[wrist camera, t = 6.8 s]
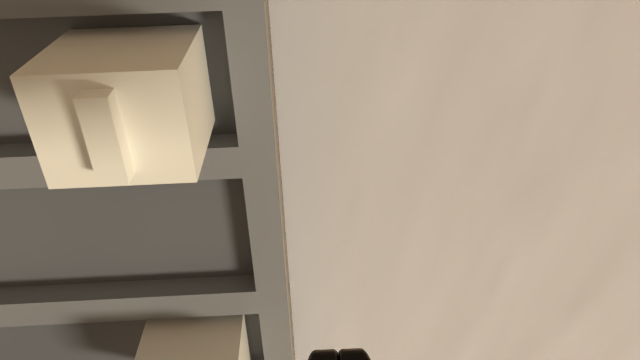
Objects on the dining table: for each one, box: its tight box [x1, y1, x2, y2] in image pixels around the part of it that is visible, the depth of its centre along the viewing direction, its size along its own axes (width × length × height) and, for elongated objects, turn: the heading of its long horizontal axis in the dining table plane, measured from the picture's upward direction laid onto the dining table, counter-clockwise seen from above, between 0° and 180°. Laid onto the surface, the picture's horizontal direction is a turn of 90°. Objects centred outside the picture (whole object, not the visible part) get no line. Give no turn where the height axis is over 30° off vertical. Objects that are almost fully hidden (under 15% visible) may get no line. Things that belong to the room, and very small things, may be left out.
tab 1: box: [9, 24, 215, 189], centre depth 15 cm, size 3×4×5 cm
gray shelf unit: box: [0, 0, 295, 360], centre depth 20 cm, size 19×16×2 cm
